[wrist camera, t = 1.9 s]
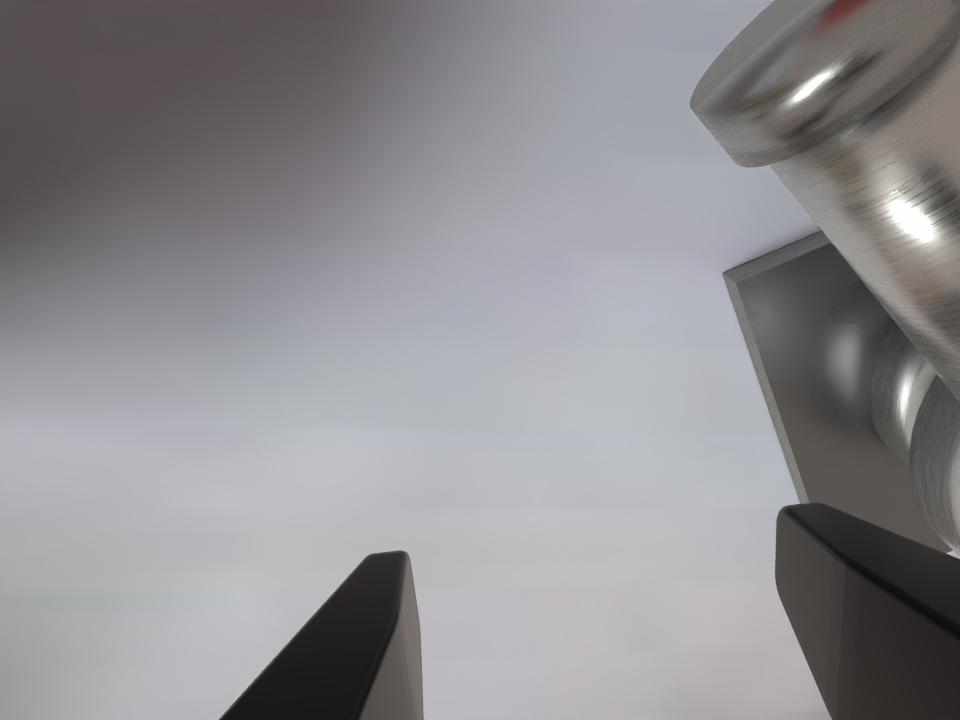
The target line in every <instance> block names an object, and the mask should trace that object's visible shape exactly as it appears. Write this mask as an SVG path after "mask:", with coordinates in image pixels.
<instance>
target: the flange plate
mask: <svg viewBox="0 0 960 720" xmlns="http://www.w3.org/2000/svg"><path fill="white" fill-rule="evenodd" d="M722 274H723V277H724V280H725V283H726V286H727V289H728V292H729V295H730V297H731V300H732V303H733V306H734V309H735V312H736V315H737V318H738V321H739V324H740V327H741V330H742V333H743V336H744V339H745V342H746V345H747V347H748V350H749V353H750V356H751V359H752V362H753V365H754V368H755V371H756V374H757V377H758V380H759V383H760V386H761V389H762V392H763V395H764V397H765V400H766V403H767V406H768V409H769V412H770V415H771V418H772V421H773V424H774V427H775V430H776V433H777V436H778V439H779V442H780V444H781V447H782V450H783V453H784V456H785V459H786V462H787V465H788V468H789V471H790V474H791V477H792V480H793V483H794V486H795V489H796V492H797V494H798V497H799V500H800V503H801V504H805V503H813V502H818V503H823V504H826V505H828V506H831V507H833V508H836V509H838V510H840V511H843V512H845V513H848V514H850V515H853V516H855V517H858V518H860V519H862V520H865V521H867V522H870V523H872V524H875V525H877V526H880V527H882V528H884V529H887V530H889V531H892V532H894V533H897V534H899V535H902V536H904V537H907V538H909V539H911V540H914V541H916V542H919V543H921V544H924V545H926V546H929V547H931V548H933V549H936V550H938V551H941V552H943V553H947V552H950V551H953V550H952V549H951V548H950V547H949V546H948V545H947V544H946V543H945V542H944V541H943V540H942V539H941V538H940V537H939V536H938V535H936V534H935V533H934V531H933V530H932V529H931V527H930V526H929V525H928V523H927V522H926V520H925V519H924V517H923V515H922V513H921V511H920V509H919V507H918V505H917V503H916V500H915V497H914V493H913V490H912V487H911V480H910V473H909V448H910V441H911V435H912V430H913V426H914V423H915V419H916V416H917V412H918V410H919V407H920V405H921V403H922V400H923V398H924V396H925V393H926V391H927V389H928V388H929V386H930V384H931V382H932V381H933V379H934V377H935V375H936V374H937V373H936V372H935V371H934V370H933V368H932V367H931V366H930V365H929V363H928V362H927V361H926V360H925V358H924V357H923V356H922V355H921V353H920V352H919V351H918V350H917V348H916V347H915V346H914V345H913V343H912V342H911V341H910V340H909V338H908V337H907V336H906V335H905V334H904V332H903V331H902V330H901V329H900V327H899V326H898V325H897V324H896V322H895V321H894V320H893V319H892V317H891V316H890V315H889V314H888V312H887V311H886V310H885V309H884V307H883V306H882V305H881V304H880V302H879V301H878V300H877V299H876V297H875V296H874V295H873V294H872V292H871V291H870V290H869V289H868V287H867V286H866V285H865V284H864V282H863V281H862V280H861V279H860V277H859V276H858V275H857V274H856V272H855V271H854V270H853V269H852V267H851V266H850V265H849V264H848V263H847V261H846V260H845V259H844V258H843V256H842V255H841V254H840V253H839V251H838V250H837V249H836V248H835V246H834V245H833V244H832V243H831V241H830V240H829V239H828V238H827V236H826V235H825V234H824V233H823V231H821V232H818V233H816V234H814V235H811V236H809V237H807V238H804V239H802V240H800V241H797V242H795V243H793V244H790V245H788V246H785V247H783V248H781V249H778V250H776V251H774V252H771V253H769V254H767V255H764V256H762V257H760V258H757V259H755V260H753V261H750V262H748V263H746V264H743V265H741V266H739V267H736V268H734V269H732V270H729V271H727V272H725V273H722Z"/></svg>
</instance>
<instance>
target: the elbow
mask: <svg viewBox="0 0 960 720" xmlns="http://www.w3.org/2000/svg"><path fill="white" fill-rule="evenodd" d="M690 108H691V109H692V110H693V112H694V113H695V114H696V115H697V116H698V118H699V119H700V120H701V121H702V123H703V124H704V125H705V126H706V127H707V129H708V130H709V131H710V132H711V134H712V135H713V136H714V137H715V138H716V140H717V141H718V142H719V143H720V145H721V146H722V147H723V148H724V149H725V151H726V152H727V153H728V154H729V156H730V157H731V158H732V159H733V160H734V162H735V163H736V164H738V165H740V166H743V167H760V166H765V165H770V167H771V168H772V169H773V170H774V172H775V173H776V174H777V175H778V177H779V178H780V179H781V180H782V182H783V183H784V184H785V185H786V187H787V188H788V189H789V190H790V191H791V193H792V194H793V195H794V196H795V198H796V199H797V200H798V201H799V203H800V204H801V205H802V206H803V208H804V209H805V210H806V211H807V213H808V214H809V215H810V216H811V218H812V219H813V220H814V221H815V223H816V224H817V225H818V226H819V228H820V229H821V230H822V231H823V233H824V234H825V235H826V236H827V238H828V239H829V240H830V241H831V243H832V244H833V245H834V246H835V248H836V249H837V250H838V251H839V253H840V254H841V255H842V256H843V258H844V259H845V260H846V261H847V263H848V264H849V265H850V266H851V267H852V269H853V270H854V271H855V272H856V274H857V275H858V276H859V277H860V279H861V280H862V281H863V282H864V284H865V285H866V286H867V287H868V289H869V290H870V291H871V292H872V294H873V295H874V296H875V297H876V299H877V300H878V301H879V302H880V304H881V305H882V306H883V307H884V309H885V310H886V311H887V312H888V314H889V315H890V316H891V317H892V319H893V320H894V321H895V322H896V324H897V325H898V326H899V327H900V329H901V330H902V331H903V332H904V334H905V335H906V336H907V337H908V338H909V340H910V341H911V342H912V343H913V345H914V346H915V347H916V348H917V350H918V351H919V352H920V353H921V355H922V356H923V357H924V358H925V360H926V361H927V362H928V363H929V365H930V366H931V367H932V368H933V370H934V371H935V372H936V373H937V374H936V375H935V377H934V379H933V381H932V382H931V384H930V386H929V388H928V389H927V391H926V393H925V396H924V398H923V400H922V403H921V405H920V407H919V410H918V412H917V416H916V419H915V423H914V426H913V430H912V435H911V441H910V448H909V473H910V480H911V487H912V490H913V493H914V497H915V500H916V503H917V505H918V507H919V509H920V511H921V513H922V515H923V517H924V519H925V520H926V522H927V523H928V525H929V526H930V527H931V529H932V530H933V531H934V533H935V534H936V535H938V536H939V537H940V538H941V539H942V540H943V541H944V542H945V543H946V544H947V545H948V546H949V547H950V548H951V549H952V550H953V551H954V552H955V553H956V554H958V555H959V556H960V0H775V1H774V2H773V3H772V4H770V5H769V6H768V7H767V8H766V9H765V10H764V11H763V12H762V13H760V14H759V15H758V16H757V17H756V18H755V19H754V20H753V21H752V22H751V23H750V24H749V25H748V26H747V27H746V28H745V29H744V30H743V31H742V32H741V33H740V34H739V35H738V36H737V37H736V38H735V39H734V40H733V41H732V42H731V43H730V44H729V45H728V46H727V47H726V48H725V49H724V51H723V52H722V53H721V54H720V55H719V56H718V57H717V59H716V60H715V61H714V62H713V63H712V65H711V66H710V67H709V68H708V70H707V71H706V72H705V74H704V75H703V77H702V78H701V79H700V81H699V83H698V84H697V86H696V88H695V90H694V92H693V94H692V96H691V100H690Z"/></svg>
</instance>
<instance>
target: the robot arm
mask: <svg viewBox="0 0 960 720" xmlns="http://www.w3.org/2000/svg"><path fill="white" fill-rule="evenodd" d="M775 579H776V586H777V590H778V594H779V597H780V599H781V602H782V604H783V607H784V609H785V611H786V614H787V616H788V618H789V621H790V623H791V625H792V628H793V630H794V632H795V635H796V637H797V639H798V642H799V644H800V646H801V649H802V651H803V654H804V656H805V658H806V661H807V663H808V665H809V668H810V670H811V672H812V675H813V677H814V679H815V682H816V684H817V686H818V689H819V691H820V693H821V696H822V698H823V701H824V703H825V705H826V707H827V710H828V712H829V714H830V716H831V718H832V720H960V559H958V558H955V557H953V556H951V555H948V554H946V553H943V552H941V551H938V550H936V549H933V548H931V547H929V546H926V545H924V544H921V543H919V542H916V541H914V540H911V539H909V538H907V537H904V536H902V535H899V534H897V533H894V532H892V531H889V530H887V529H884V528H882V527H880V526H877V525H875V524H872V523H870V522H867V521H865V520H862V519H860V518H858V517H855V516H853V515H850V514H848V513H845V512H843V511H840V510H838V509H836V508H833V507H831V506H828V505H826V504H823V503H818V502H813V503H805V504H796V505H788V506H784V507H783V508H782V509H781V510H780V511H779V513H778V517H777V523H776V559H775ZM219 720H424V717H423V688H422V658H421V634H420V622H419V615H418V608H417V601H416V595H415V588H414V581H413V574H412V568H411V562H410V558H409V555H408V554H407V552H405V551H401V550H400V551H391V552H383V553H374V554H370V555H368V556H367V557H366V558H365V559H364V560H363V561H362V562H361V563H360V564H359V565H358V566H357V568H356V569H355V570H354V571H353V572H352V573H351V574H350V575H349V576H348V577H347V579H346V580H345V581H344V582H343V583H342V584H341V585H340V586H339V587H338V588H337V590H336V591H335V592H334V593H333V594H332V595H331V596H330V597H329V598H328V600H327V601H326V602H325V603H324V604H323V605H322V606H321V607H320V608H319V609H318V611H317V612H316V613H315V614H314V615H313V616H312V617H311V618H310V619H309V621H308V622H307V623H306V624H305V625H304V626H303V627H302V628H301V629H300V630H299V632H298V633H297V634H296V635H295V636H294V637H293V638H292V639H291V640H290V642H289V643H288V644H287V645H286V646H285V647H284V648H283V649H282V650H281V651H280V653H279V654H278V655H277V656H276V657H275V658H274V659H273V660H272V661H271V662H270V664H269V665H268V666H267V667H266V668H265V669H264V670H263V671H262V672H261V674H260V675H259V676H258V677H257V678H256V679H255V680H254V681H253V682H252V683H251V685H250V686H249V687H248V688H247V689H246V690H245V691H244V692H243V693H242V695H241V696H240V697H239V698H238V699H237V700H236V701H235V702H234V703H233V704H232V706H231V707H230V708H229V709H228V710H227V711H226V712H225V713H224V714H223V716H222V717H221V718H220V719H219Z"/></svg>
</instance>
